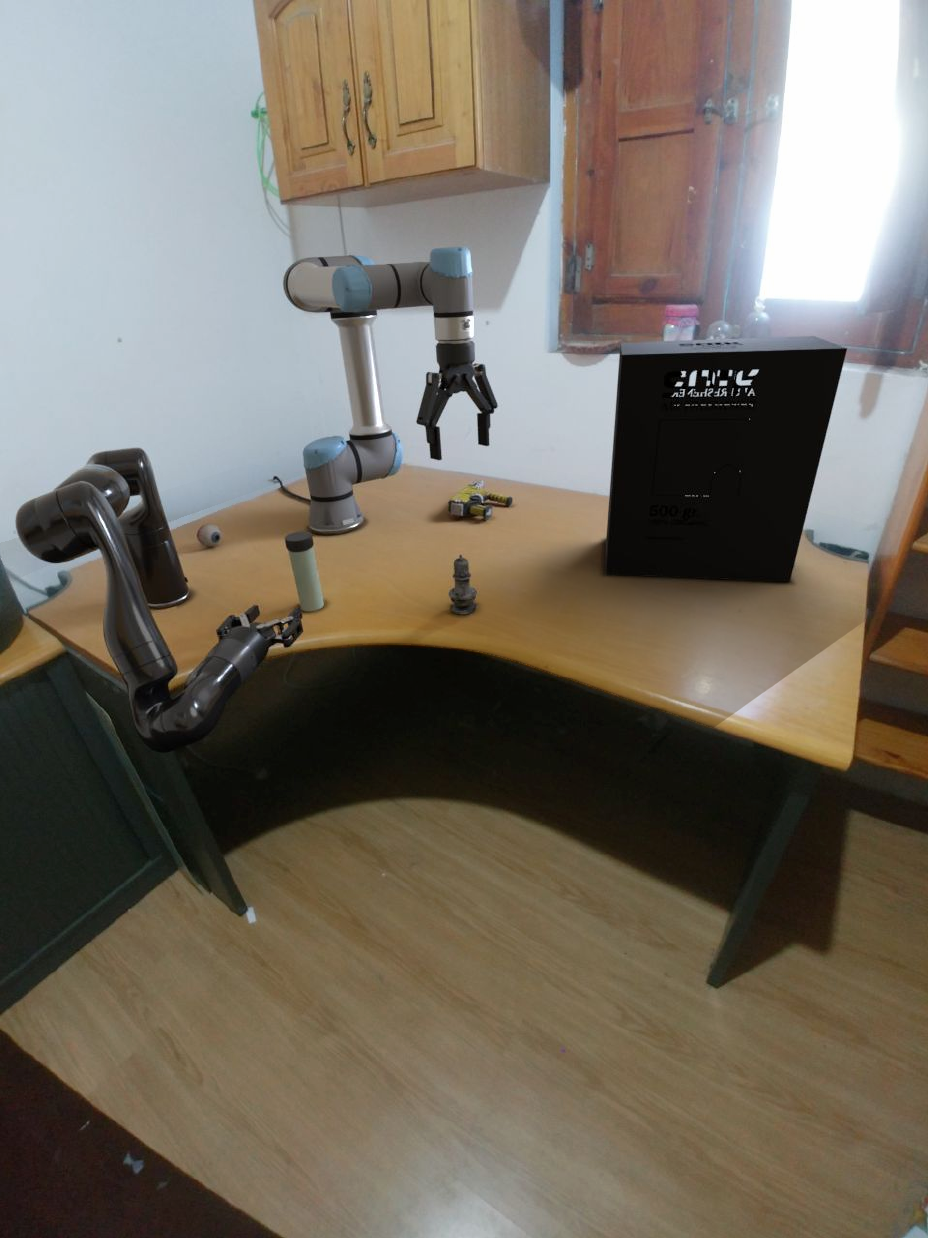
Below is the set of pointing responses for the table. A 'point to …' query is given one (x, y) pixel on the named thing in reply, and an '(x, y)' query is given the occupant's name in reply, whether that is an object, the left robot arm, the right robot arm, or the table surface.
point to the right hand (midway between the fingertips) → (460, 451)
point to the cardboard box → (717, 455)
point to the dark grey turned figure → (462, 588)
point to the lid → (299, 541)
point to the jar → (307, 579)
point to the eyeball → (209, 535)
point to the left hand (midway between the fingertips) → (278, 610)
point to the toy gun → (475, 501)
